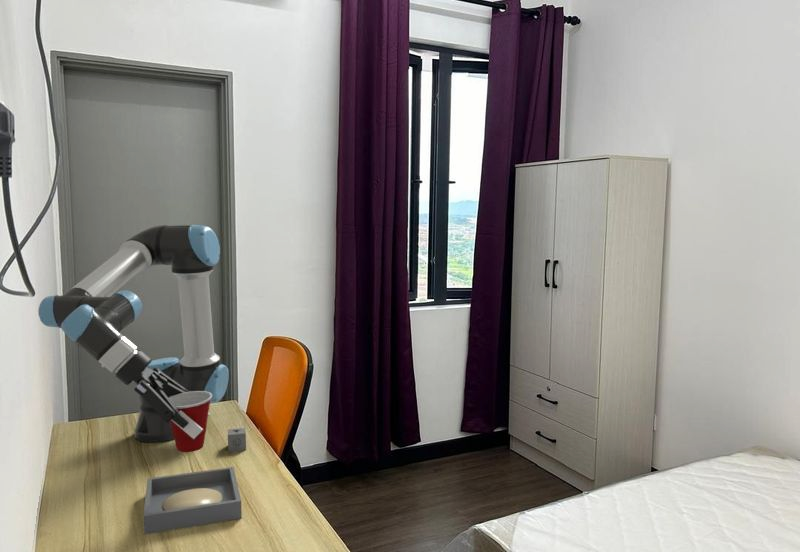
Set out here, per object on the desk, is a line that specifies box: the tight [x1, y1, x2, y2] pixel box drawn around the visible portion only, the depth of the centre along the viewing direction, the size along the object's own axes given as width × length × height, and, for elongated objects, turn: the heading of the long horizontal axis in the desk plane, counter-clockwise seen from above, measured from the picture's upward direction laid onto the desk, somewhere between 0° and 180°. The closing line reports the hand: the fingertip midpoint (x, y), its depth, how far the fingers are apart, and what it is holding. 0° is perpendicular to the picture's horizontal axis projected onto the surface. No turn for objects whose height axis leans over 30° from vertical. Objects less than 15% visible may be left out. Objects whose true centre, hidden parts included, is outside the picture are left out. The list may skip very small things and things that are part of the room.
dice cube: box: [227, 427, 247, 453], centre depth 177 cm, size 5×5×5 cm
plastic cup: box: [169, 391, 212, 453], centre depth 139 cm, size 11×11×12 cm
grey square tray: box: [142, 466, 243, 535], centre depth 141 cm, size 20×20×4 cm
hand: (202, 425), depth 139 cm, fingers closed on plastic cup, 10 cm apart
